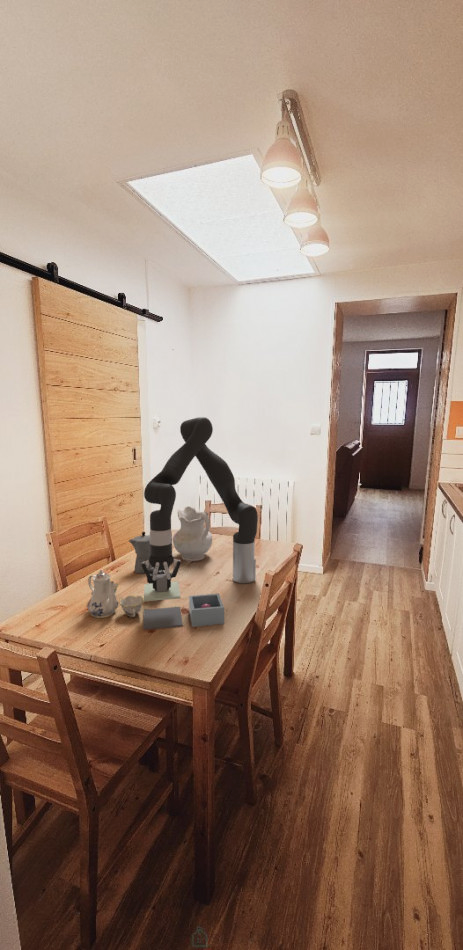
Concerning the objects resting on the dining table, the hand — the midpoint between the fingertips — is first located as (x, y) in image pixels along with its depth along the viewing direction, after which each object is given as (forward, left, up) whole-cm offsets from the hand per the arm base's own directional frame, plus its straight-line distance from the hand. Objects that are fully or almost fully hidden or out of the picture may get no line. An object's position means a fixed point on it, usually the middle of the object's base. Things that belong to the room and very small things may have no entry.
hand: (161, 588), depth 143 cm
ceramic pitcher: (-17, -58, -11) cm, 61 cm away
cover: (0, 0, -1) cm, 1 cm away
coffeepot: (+6, -46, -11) cm, 48 cm away
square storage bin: (-15, +2, -11) cm, 19 cm away
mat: (0, 0, -11) cm, 11 cm away
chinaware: (+18, -10, -11) cm, 24 cm away
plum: (-15, +2, -8) cm, 17 cm away
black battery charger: (+2, -17, -11) cm, 20 cm away
